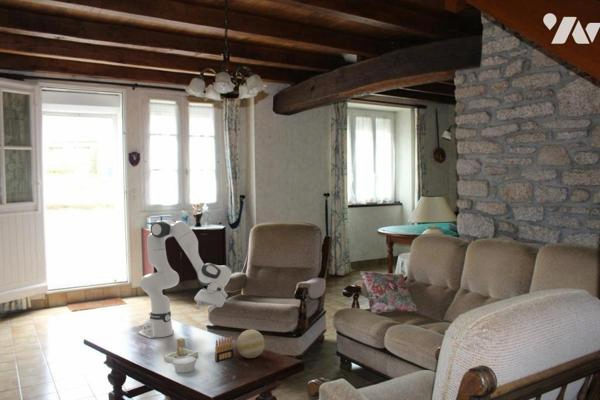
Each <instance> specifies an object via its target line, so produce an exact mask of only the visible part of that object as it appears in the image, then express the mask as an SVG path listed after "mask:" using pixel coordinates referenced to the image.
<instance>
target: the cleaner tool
mask: <svg viewBox="0 0 600 400" xmlns="http://www.w3.org/2000/svg"><path fill="white" fill-rule="evenodd" d="M185 341H186V340H185V338H184V337H178V338H176V351H177V355H175V356H174V358H179V357H184V356H187V355H188V353H186V352H185V349H186V344H185V343H186V342H185Z"/></svg>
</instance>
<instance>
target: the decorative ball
mask: <svg viewBox="0 0 600 400" xmlns="http://www.w3.org/2000/svg"><path fill="white" fill-rule="evenodd" d="M265 347H266V344H265V338H264V336H263V334H262V333H261V332H260V331H258V330H256V329H252V328H251V329H250V328H249V329H246V330H244V331H242V332H241V333H240V335H238V337H237V340H236V348H237V352H238V353H239V354H240V356H242V357H244V358H246V359H255V358H257V357H259V356H260V355H262V353H263V352H264V349H265Z"/></svg>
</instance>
